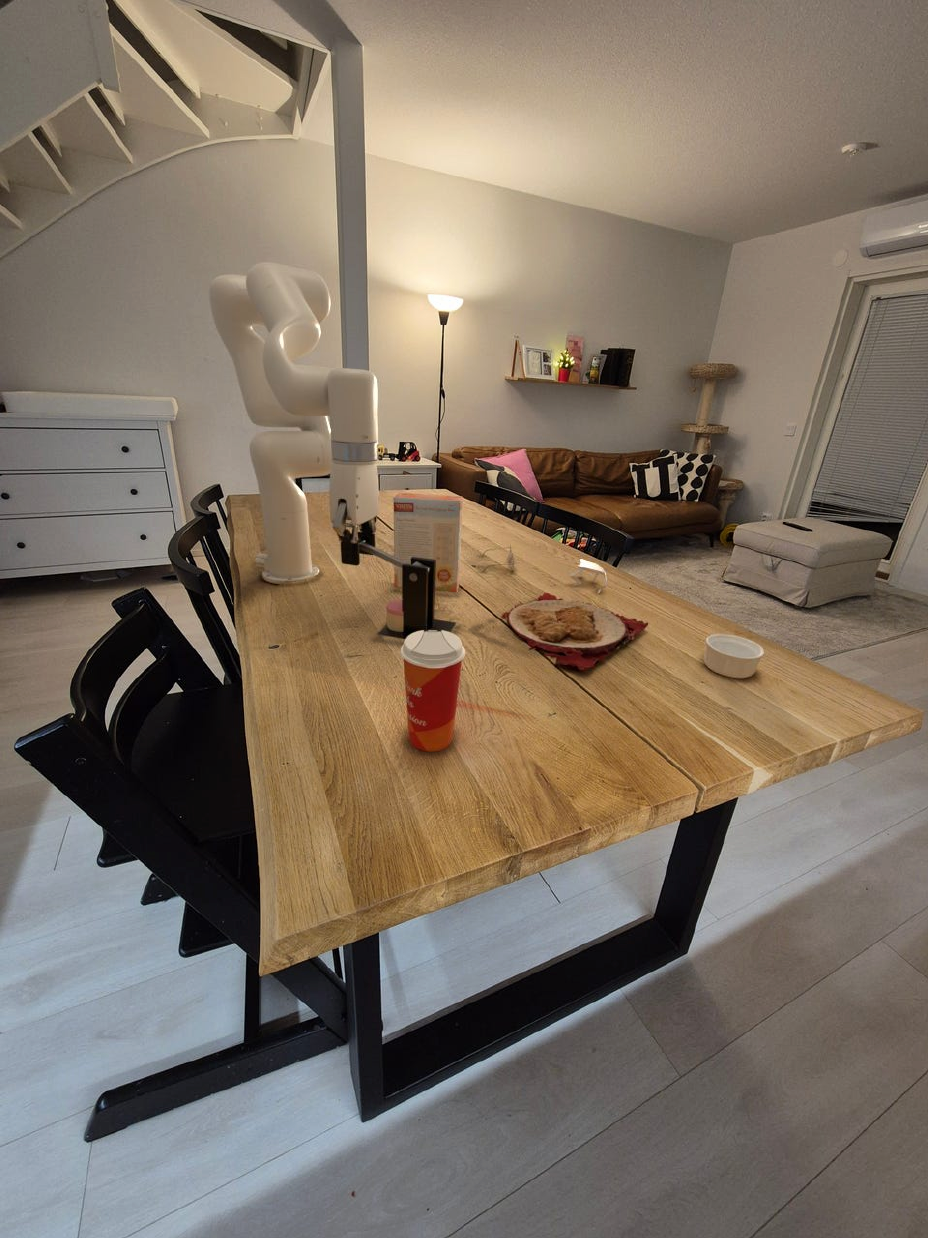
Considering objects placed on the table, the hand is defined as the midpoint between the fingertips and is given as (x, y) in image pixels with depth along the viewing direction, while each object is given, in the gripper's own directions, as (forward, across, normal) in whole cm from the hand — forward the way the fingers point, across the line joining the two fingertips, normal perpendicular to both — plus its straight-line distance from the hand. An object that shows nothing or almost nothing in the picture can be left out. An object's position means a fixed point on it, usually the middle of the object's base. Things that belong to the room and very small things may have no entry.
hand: (359, 557), depth 89 cm
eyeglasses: (+13, -46, +16) cm, 51 cm away
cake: (+12, 0, +8) cm, 14 cm away
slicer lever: (0, 0, +6) cm, 6 cm away
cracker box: (+13, -22, +5) cm, 26 cm away
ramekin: (+13, -7, +65) cm, 67 cm away
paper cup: (+13, +28, +23) cm, 39 cm away
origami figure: (+13, -39, +40) cm, 58 cm away
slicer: (+13, 0, +11) cm, 17 cm away
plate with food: (+13, -11, +36) cm, 40 cm away
